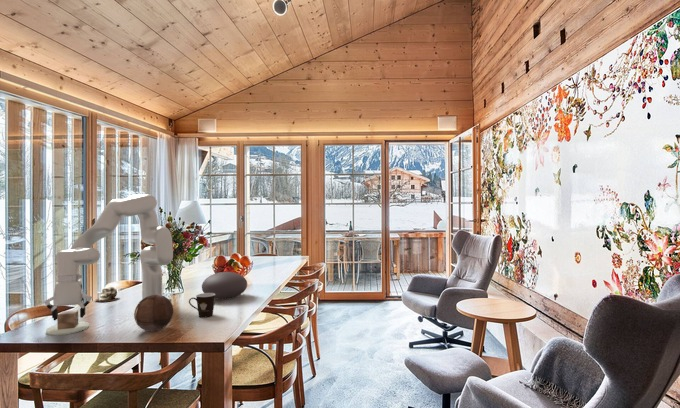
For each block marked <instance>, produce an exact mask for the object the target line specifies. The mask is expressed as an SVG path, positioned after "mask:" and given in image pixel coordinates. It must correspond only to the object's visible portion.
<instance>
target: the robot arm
mask: <svg viewBox="0 0 680 408" xmlns="http://www.w3.org/2000/svg"><path fill="white" fill-rule="evenodd" d="M157 205H158V201H157V199H156V197H155V196H154V195H153V194H149V193H147V194H143V193H142V194H131V195H128V196H127V197H126V198H115V199H112V200H110V201H109V202H108V203H107V204H106V205H105V208H104V210H103V211H102V212H101V214H100V215H99V217H98V218H97V219H96V221H95V222H94V223H93V225H92V226H90V227H88V229H87V230H85V231H84V232H83V233H82V234H80V236H78V238H77V239H76V240H75V242H74V243H73V244H72V246H71V248H70V249H63V250H60V251H59V250H58V251H57V253H56V273H57V274H56V275H57V281H56V282H55V284H54V290H53V291H54V292H53V296H52V297H50V298H48V299H46V300H44V301H43V303H44V304H45V307H46V308H47V309H48V310H50V311H51V318H52V319H53V321H57V315H59V313H58V312H59V309H58V307H65V306H67V307H68V306H74V305H75V306H76V305H78V306H79V307H80V309H79V317H80V319H81V318H83V317H84V316H86V307H87V306H88V305H89V304H90V303H91V301H92V299H93V296H92V295H88V294H86V293H84V288H83V283H82V280H80V279H83V276H84V275H83V274H80V273H79V272H80V271H79V270H80V269H79V268H80V267H79V266H83V265H84V266H86V265H87V266H88V265H89V266H90V265H93V264H96V263H97V262H99V260H100V258H101V253H100V251H99V250H98V249H96V248H95V247H92V246H94V245H95V243H97V242H99V241H100V240H102V239H104V238H106V237H108V236H111V235H112V234H113V233H114V232H115V230H116V228H117V227H118V225H119V223H120V221H121V220H122V218H125V217H128V218H129V217H134V216H137V218H138V221H139V228H140V236H141V241H142V243H144V244H147V245H152V246H146V247H144V248H143V249H141V251H140V253H139V254H140V255H139V259H140V264H141V271H142V272H141V273H142V276H141V277H142V278H141V279H142V280H141V282H142V285H141V286H142V288H141V289H142V292H141V293H142V294H141V296H142V298H141V300H142V299H144V298H145V297H147V296H150V295H162V296H163V269H162V266H167V265H169V264H171V263H172V260H173V257H174V251H173V250H174V249H173V248H174V247H173V239H172V233H171V230H169V228H168V227H166V226H160V225H159V220H158V216H157V215H158V214H157V213H156V210H155V209H156V208H157ZM167 298H168V299H169V300H170V302H171V303H172V297H167ZM84 299H85V300H86V302H84ZM52 301H53V304H51V302H52Z"/></svg>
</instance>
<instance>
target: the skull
mask: <svg viewBox="0 0 680 408" xmlns="http://www.w3.org/2000/svg"><path fill="white" fill-rule="evenodd" d="M117 293H118V290H117V288H115V287H114V286H112V285H111V286H110V285H107V286H104V287H103V288H102V290H101V292H100V296H99V298H96V299H95V301H96V302H110V301H117V300H120V299H121V298H120V297H116V296H117V295H118V294H117Z"/></svg>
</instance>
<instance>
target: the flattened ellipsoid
mask: <svg viewBox="0 0 680 408" xmlns="http://www.w3.org/2000/svg"><path fill="white" fill-rule="evenodd" d="M247 287H248V281H247V279H246V278H245V277H244V276H243V275H241V274H240V273H237V272H232V271H222V272H221V271H220V272H215V273H213V274H211V275H208V276H207V277H206V278H205V279H204V280H203V281H202V284H201V290H202V293H214V294H215V300H229V299H233V298H237V297H238V296H241V295H242V294H243V293H244V292H245V291H247Z"/></svg>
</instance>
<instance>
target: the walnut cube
mask: <svg viewBox="0 0 680 408" xmlns="http://www.w3.org/2000/svg"><path fill="white" fill-rule="evenodd" d="M56 321H57V324H56V325H58V329H68V328H75V327H76V326H77V325H78V322H79V310H68V311H66V310H65V311H61V312H60V313H58V315H57V319H56Z"/></svg>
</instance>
